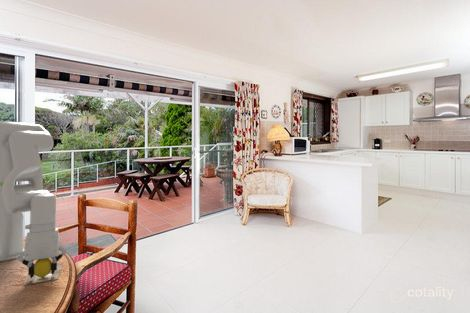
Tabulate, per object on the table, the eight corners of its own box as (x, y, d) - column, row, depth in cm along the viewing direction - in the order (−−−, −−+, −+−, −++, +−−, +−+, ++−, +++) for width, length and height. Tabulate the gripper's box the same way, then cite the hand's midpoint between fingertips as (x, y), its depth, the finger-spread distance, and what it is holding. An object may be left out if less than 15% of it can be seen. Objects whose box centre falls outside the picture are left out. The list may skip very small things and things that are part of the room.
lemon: (41, 282, 88) (42, 261, 88) (29, 280, 90) (29, 259, 89) (55, 275, 94) (56, 254, 94) (44, 273, 95) (44, 252, 95)
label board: (33, 268, 99) (33, 267, 99) (63, 263, 104) (63, 262, 104) (23, 286, 87) (23, 285, 87) (58, 279, 91) (58, 278, 91)
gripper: (9, 233, 84) (9, 284, 84) (69, 226, 92) (69, 273, 93) (16, 226, 90) (16, 274, 91) (71, 221, 98) (71, 265, 99)
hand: (43, 273), depth 92 cm, fingers closed on lemon, 5 cm apart
